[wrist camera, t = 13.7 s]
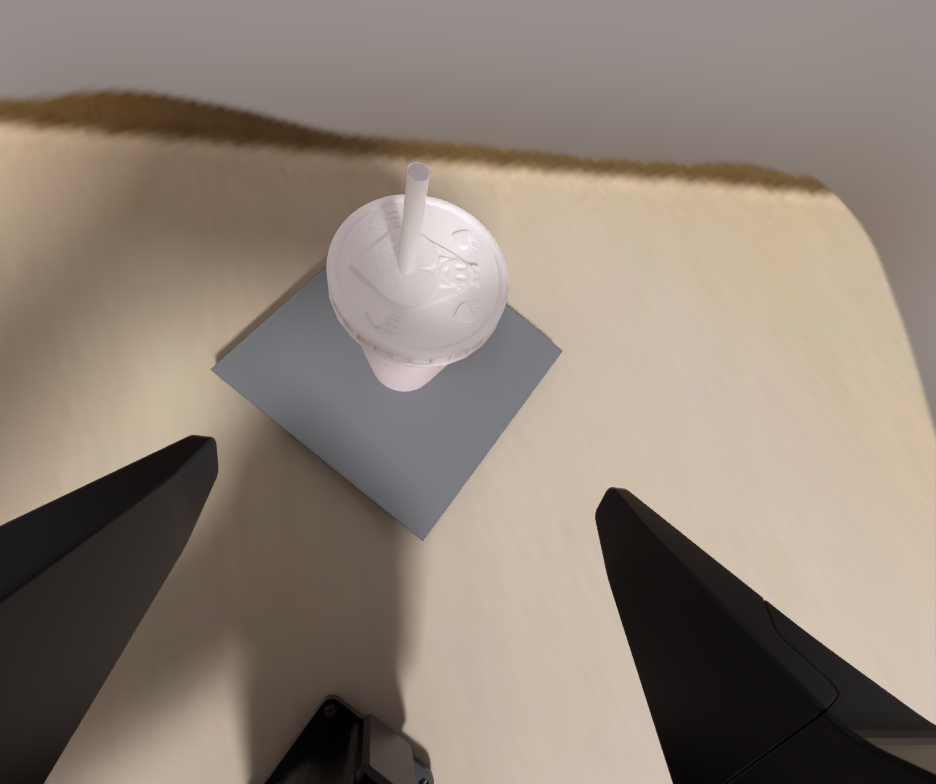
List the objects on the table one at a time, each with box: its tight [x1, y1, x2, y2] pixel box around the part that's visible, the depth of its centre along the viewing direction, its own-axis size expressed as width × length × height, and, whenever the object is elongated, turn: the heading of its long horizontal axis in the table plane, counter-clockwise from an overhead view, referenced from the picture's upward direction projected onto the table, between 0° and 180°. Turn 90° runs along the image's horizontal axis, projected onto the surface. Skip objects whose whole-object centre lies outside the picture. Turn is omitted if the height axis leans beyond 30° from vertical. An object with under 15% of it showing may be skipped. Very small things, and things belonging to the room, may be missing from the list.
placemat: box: [210, 267, 562, 540], centre depth 23 cm, size 14×14×1 cm
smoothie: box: [326, 162, 509, 392], centre depth 16 cm, size 6×6×14 cm
